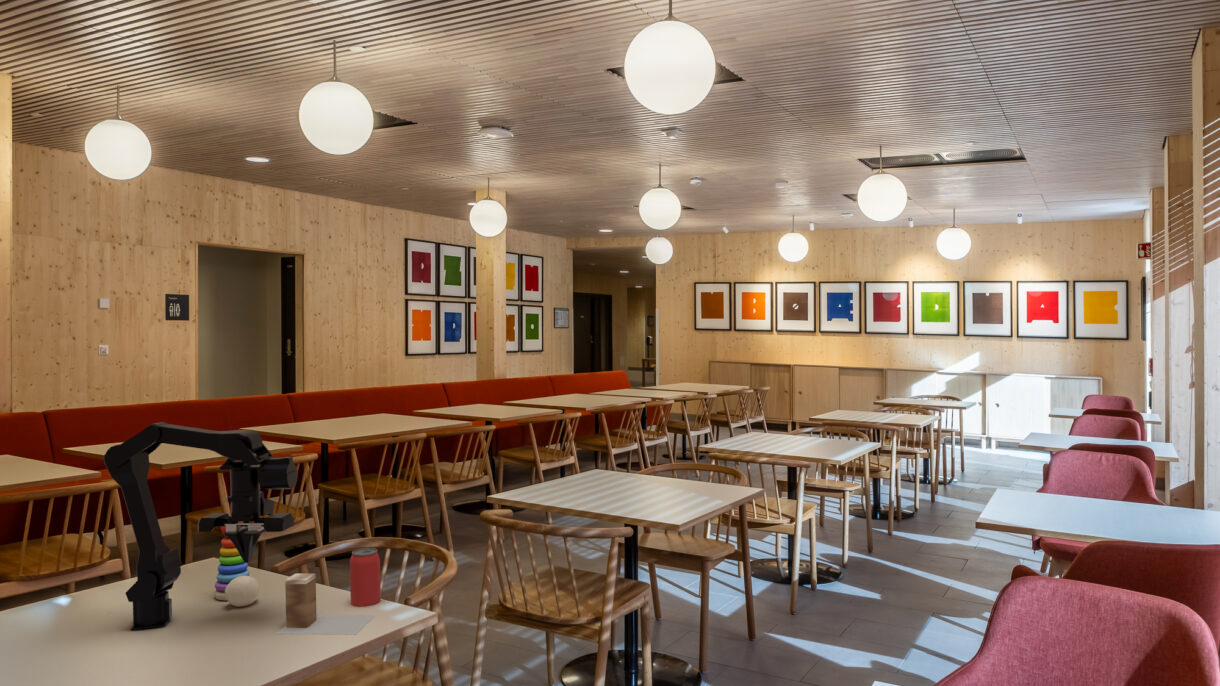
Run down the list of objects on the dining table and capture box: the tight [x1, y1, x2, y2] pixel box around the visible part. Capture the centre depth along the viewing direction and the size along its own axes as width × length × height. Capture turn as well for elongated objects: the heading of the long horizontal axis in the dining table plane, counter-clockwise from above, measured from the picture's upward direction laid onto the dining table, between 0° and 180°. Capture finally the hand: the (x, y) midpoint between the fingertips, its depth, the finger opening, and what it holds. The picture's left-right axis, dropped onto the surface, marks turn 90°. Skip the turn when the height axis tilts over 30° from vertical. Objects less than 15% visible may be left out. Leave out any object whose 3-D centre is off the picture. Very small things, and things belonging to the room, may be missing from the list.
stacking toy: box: [213, 522, 250, 601], centre depth 191 cm, size 8×8×19 cm
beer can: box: [349, 547, 382, 608], centre depth 184 cm, size 7×7×12 cm
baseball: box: [225, 575, 260, 608], centre depth 184 cm, size 7×7×7 cm
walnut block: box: [284, 573, 318, 628], centre depth 171 cm, size 4×4×10 cm
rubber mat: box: [275, 614, 376, 636], centre depth 170 cm, size 17×11×1 cm, turn 86°
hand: (247, 562), depth 173 cm, fingers closed
